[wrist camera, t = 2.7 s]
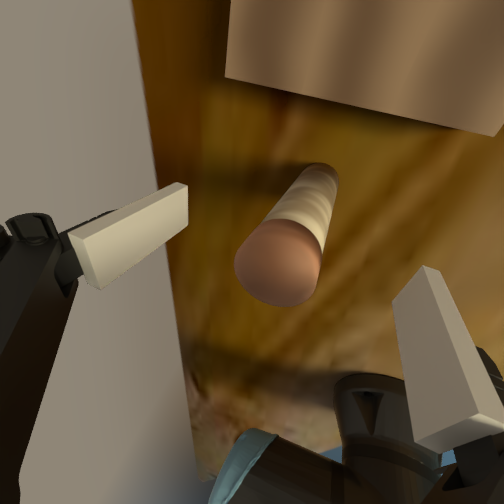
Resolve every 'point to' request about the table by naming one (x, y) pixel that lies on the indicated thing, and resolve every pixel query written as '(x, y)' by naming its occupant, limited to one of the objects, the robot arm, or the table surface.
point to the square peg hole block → (378, 55)
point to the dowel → (290, 241)
